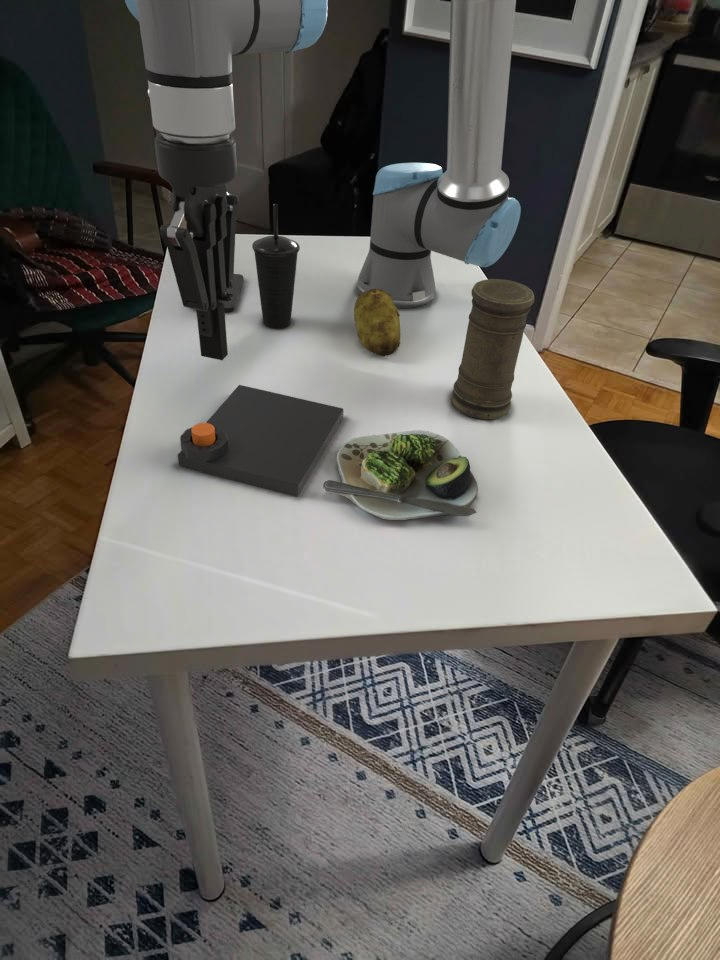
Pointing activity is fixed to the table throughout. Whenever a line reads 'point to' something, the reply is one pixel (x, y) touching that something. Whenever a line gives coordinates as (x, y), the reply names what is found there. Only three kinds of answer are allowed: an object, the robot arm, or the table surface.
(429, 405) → the table surface
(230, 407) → the scale
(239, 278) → the phone
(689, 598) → the table surface
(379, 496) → the salad plate
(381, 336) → the potato
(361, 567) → the table surface
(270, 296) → the drinking cup
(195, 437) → the button
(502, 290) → the container
